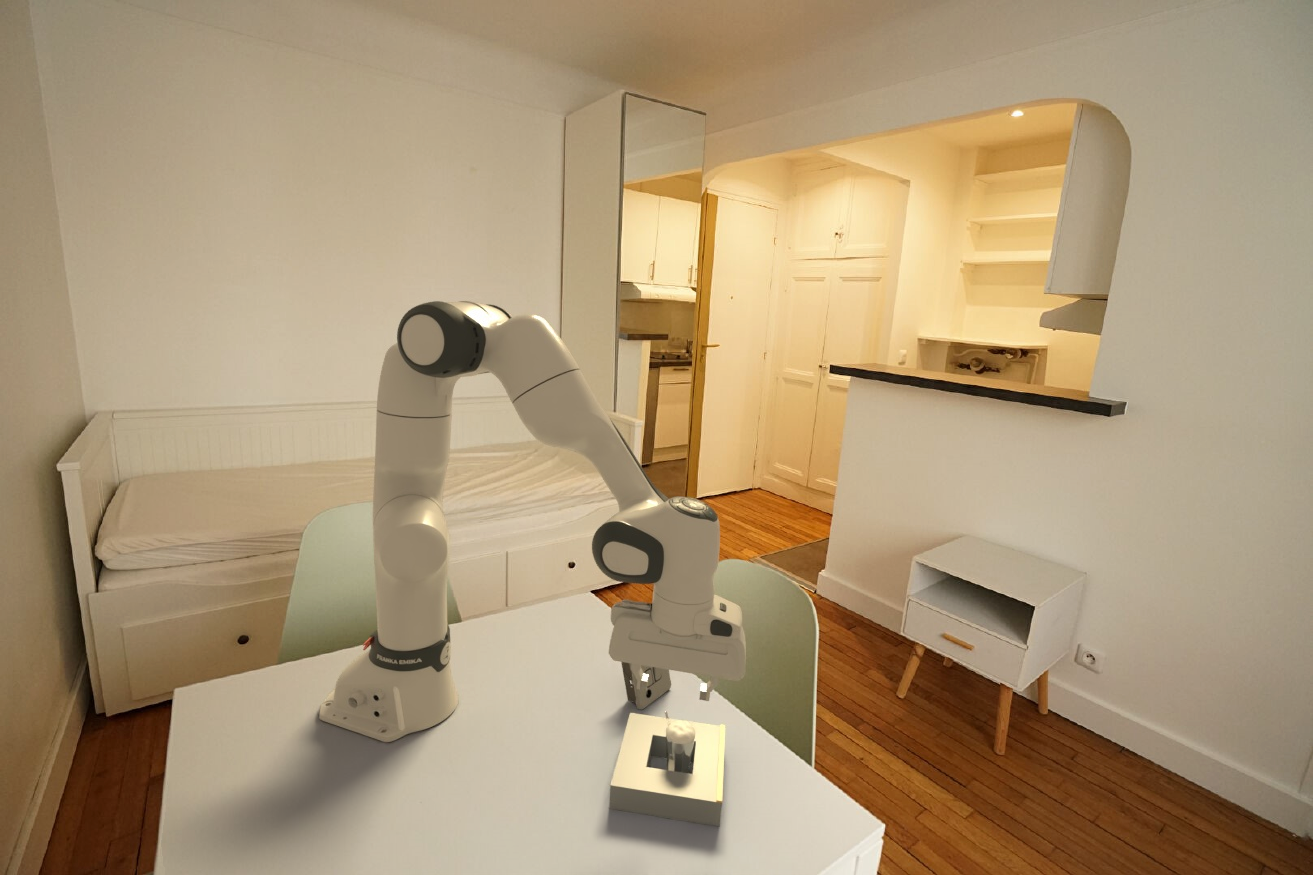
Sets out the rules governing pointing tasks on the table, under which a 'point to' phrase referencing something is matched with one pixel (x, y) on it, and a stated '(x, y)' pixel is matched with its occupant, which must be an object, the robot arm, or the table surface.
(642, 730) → the socket block
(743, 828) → the table surface
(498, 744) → the table surface
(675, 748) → the milkshake
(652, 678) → the electrical switch
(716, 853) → the table surface
